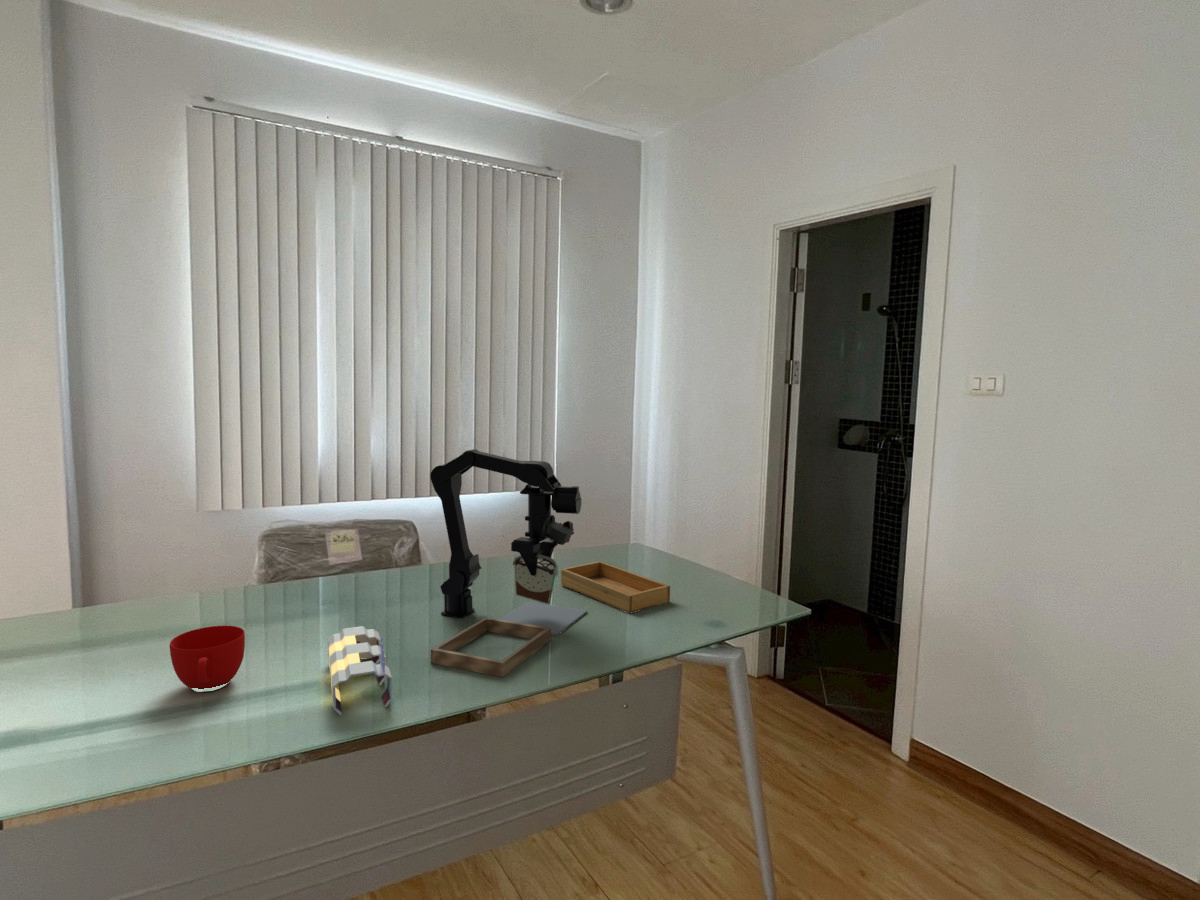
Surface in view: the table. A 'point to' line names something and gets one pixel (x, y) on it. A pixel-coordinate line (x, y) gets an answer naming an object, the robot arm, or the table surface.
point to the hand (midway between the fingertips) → (539, 572)
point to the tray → (615, 586)
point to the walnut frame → (448, 657)
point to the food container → (535, 579)
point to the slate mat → (544, 616)
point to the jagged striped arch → (357, 660)
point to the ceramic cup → (208, 655)
